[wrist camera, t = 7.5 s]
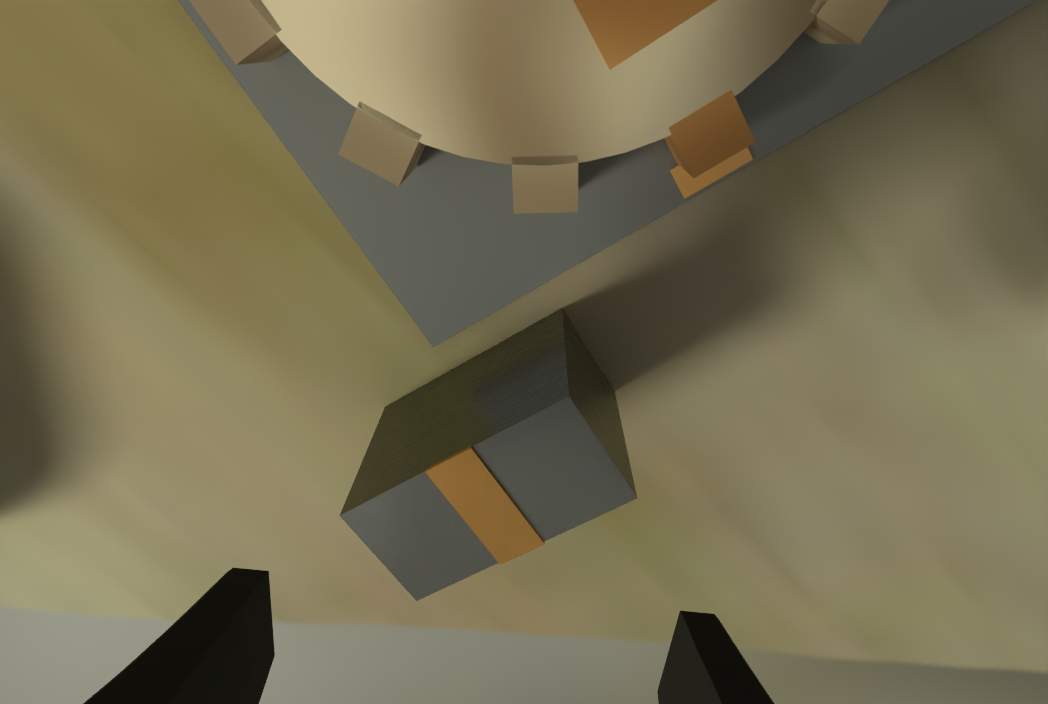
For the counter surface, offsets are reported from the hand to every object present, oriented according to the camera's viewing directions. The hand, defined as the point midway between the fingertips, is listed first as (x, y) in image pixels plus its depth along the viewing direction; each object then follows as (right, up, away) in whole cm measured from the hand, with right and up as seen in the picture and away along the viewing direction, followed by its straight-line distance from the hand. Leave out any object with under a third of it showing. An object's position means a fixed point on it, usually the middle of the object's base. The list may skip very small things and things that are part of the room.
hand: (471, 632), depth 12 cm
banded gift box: (0, +4, +8) cm, 8 cm away
